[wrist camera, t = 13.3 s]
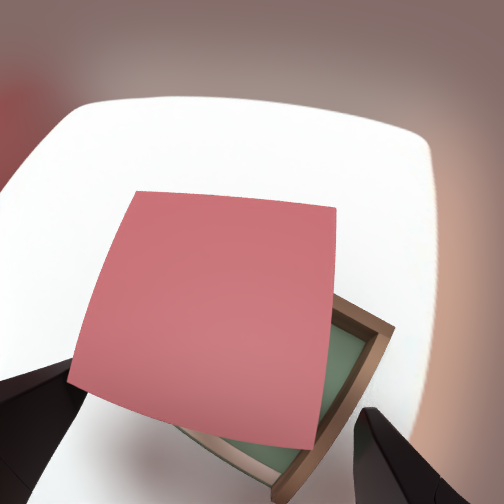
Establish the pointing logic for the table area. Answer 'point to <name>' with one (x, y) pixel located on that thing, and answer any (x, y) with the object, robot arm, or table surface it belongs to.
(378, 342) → the box
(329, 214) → the post
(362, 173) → the table surface
